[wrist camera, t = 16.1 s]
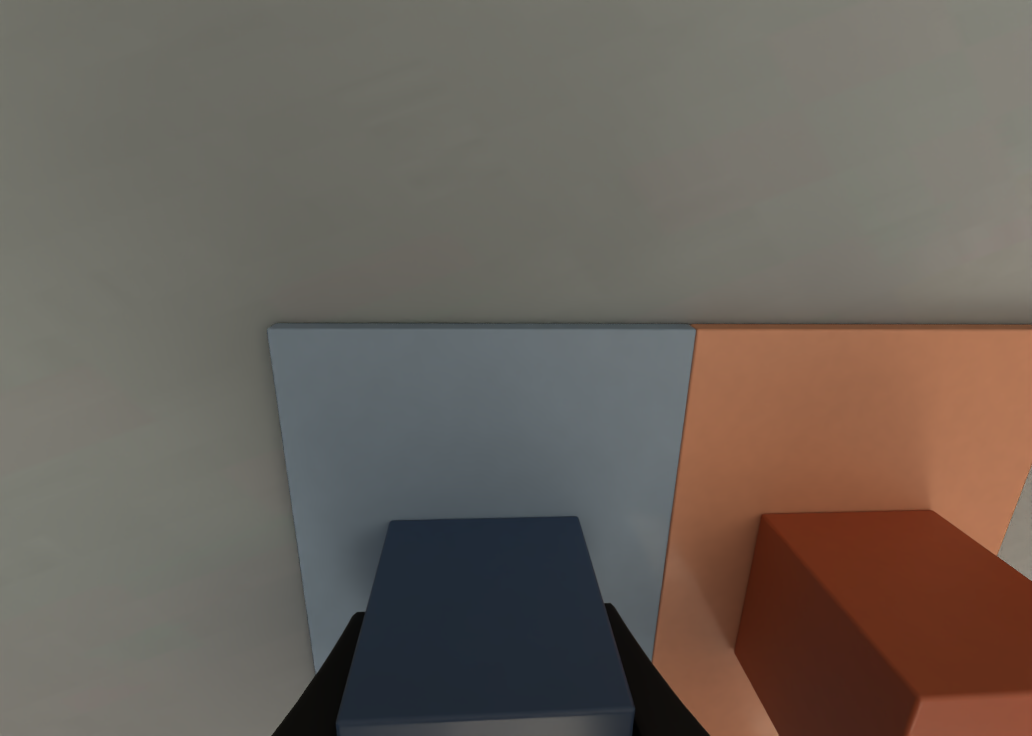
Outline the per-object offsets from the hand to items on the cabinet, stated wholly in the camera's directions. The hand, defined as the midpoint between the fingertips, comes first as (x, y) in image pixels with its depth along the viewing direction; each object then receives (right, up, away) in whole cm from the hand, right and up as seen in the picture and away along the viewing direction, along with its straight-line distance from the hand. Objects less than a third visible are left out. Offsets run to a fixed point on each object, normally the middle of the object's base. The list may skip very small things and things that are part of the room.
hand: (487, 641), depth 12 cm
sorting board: (+4, +1, +2) cm, 5 cm away
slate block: (0, +1, +1) cm, 1 cm away
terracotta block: (+9, +1, +2) cm, 9 cm away
